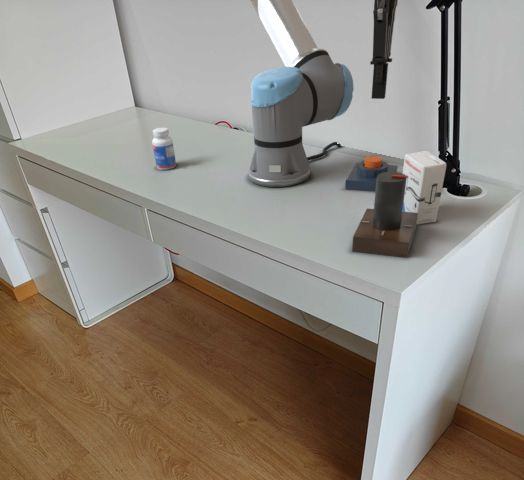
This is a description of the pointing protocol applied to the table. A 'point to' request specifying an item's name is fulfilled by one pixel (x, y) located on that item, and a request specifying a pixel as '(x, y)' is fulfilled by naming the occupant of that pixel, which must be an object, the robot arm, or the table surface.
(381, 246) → the block
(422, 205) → the ink box
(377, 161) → the button
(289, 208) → the table surface
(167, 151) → the pill bottle
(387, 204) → the dial knob
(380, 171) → the button box
